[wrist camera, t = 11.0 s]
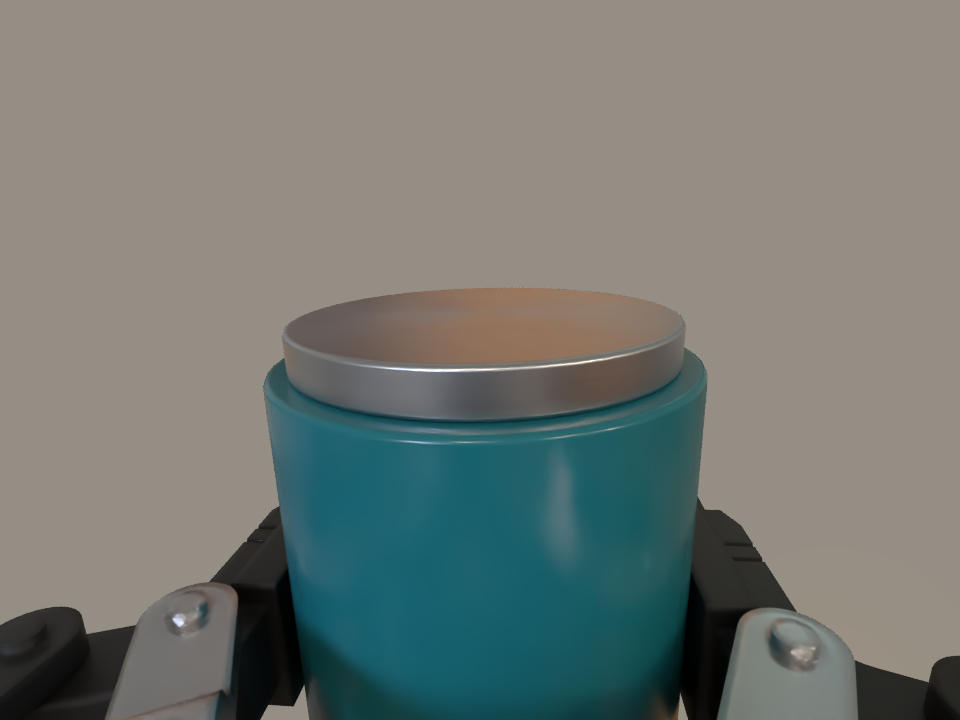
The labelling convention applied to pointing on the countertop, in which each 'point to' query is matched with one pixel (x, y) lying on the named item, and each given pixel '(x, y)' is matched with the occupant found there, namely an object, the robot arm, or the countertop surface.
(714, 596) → the robot arm
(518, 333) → the slim can
